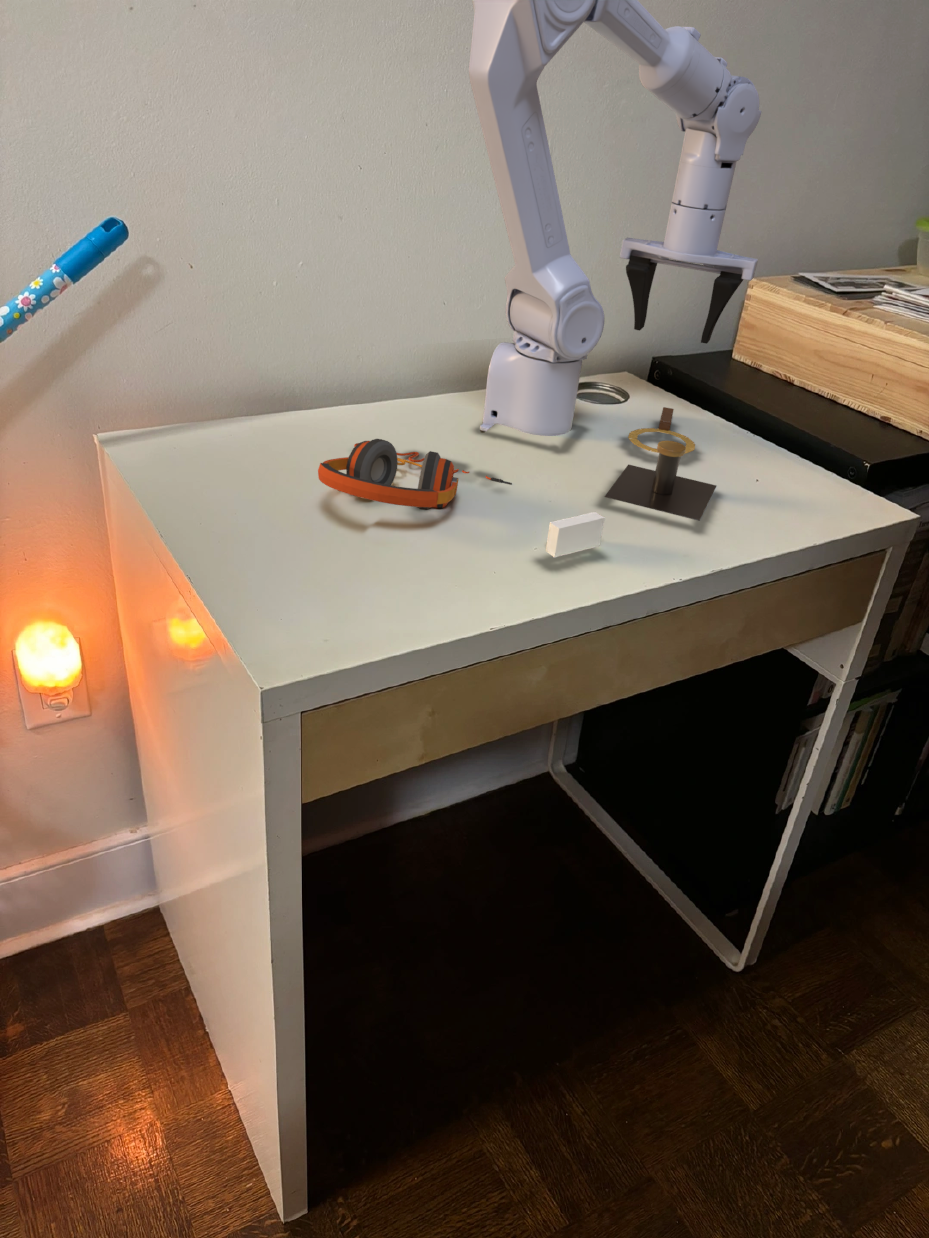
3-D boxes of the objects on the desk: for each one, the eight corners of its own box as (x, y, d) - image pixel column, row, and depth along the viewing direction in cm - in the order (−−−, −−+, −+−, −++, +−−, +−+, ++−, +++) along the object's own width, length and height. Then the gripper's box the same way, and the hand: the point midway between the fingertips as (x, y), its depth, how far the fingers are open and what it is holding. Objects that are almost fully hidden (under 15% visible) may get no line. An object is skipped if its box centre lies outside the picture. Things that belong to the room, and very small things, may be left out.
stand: (602, 506, 87) (612, 450, 84) (626, 473, 94) (636, 420, 91) (697, 530, 84) (711, 473, 81) (714, 494, 91) (727, 441, 88)
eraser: (543, 561, 77) (549, 521, 75) (588, 549, 79) (595, 511, 77) (552, 567, 76) (559, 528, 74) (597, 556, 78) (605, 517, 76)
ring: (691, 467, 97) (695, 449, 96) (623, 455, 98) (626, 437, 97) (696, 429, 106) (700, 413, 105) (634, 419, 108) (637, 402, 107)
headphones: (364, 466, 95) (265, 497, 77) (371, 415, 94) (271, 434, 76) (517, 504, 91) (451, 546, 73) (528, 451, 90) (463, 481, 71)
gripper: (772, 211, 98) (741, 338, 106) (640, 191, 103) (619, 315, 110) (764, 219, 93) (731, 353, 100) (625, 198, 97) (603, 328, 104)
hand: (671, 334), depth 105 cm, fingers open, 7 cm apart
